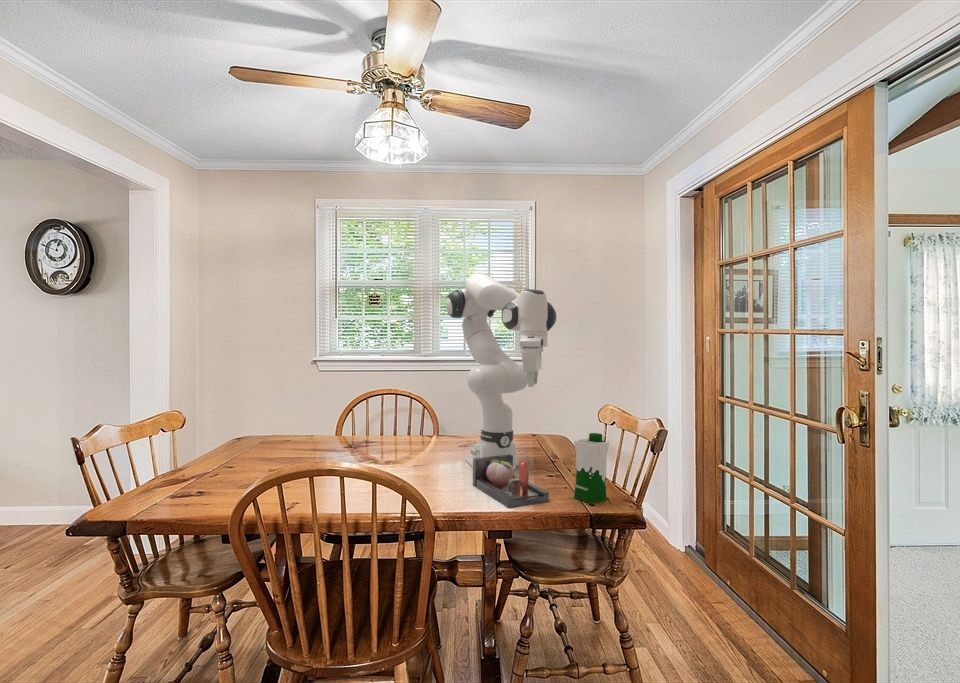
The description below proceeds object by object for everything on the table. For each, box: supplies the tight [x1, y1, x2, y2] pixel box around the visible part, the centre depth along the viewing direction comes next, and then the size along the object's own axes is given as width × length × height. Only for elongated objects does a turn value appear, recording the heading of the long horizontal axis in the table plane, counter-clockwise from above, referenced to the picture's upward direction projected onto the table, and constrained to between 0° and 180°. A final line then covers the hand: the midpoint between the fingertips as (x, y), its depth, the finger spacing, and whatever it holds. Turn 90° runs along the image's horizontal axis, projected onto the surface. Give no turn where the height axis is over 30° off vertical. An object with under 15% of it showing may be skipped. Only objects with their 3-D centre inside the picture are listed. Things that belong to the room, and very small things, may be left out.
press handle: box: [506, 460, 540, 500], centre depth 159 cm, size 6×10×12 cm, turn 116°
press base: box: [472, 455, 550, 509], centre depth 165 cm, size 24×14×9 cm, turn 26°
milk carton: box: [573, 432, 610, 505], centre depth 160 cm, size 9×9×20 cm
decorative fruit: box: [486, 458, 515, 489], centre depth 170 cm, size 9×8×10 cm
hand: (532, 385), depth 161 cm, fingers open, 8 cm apart
